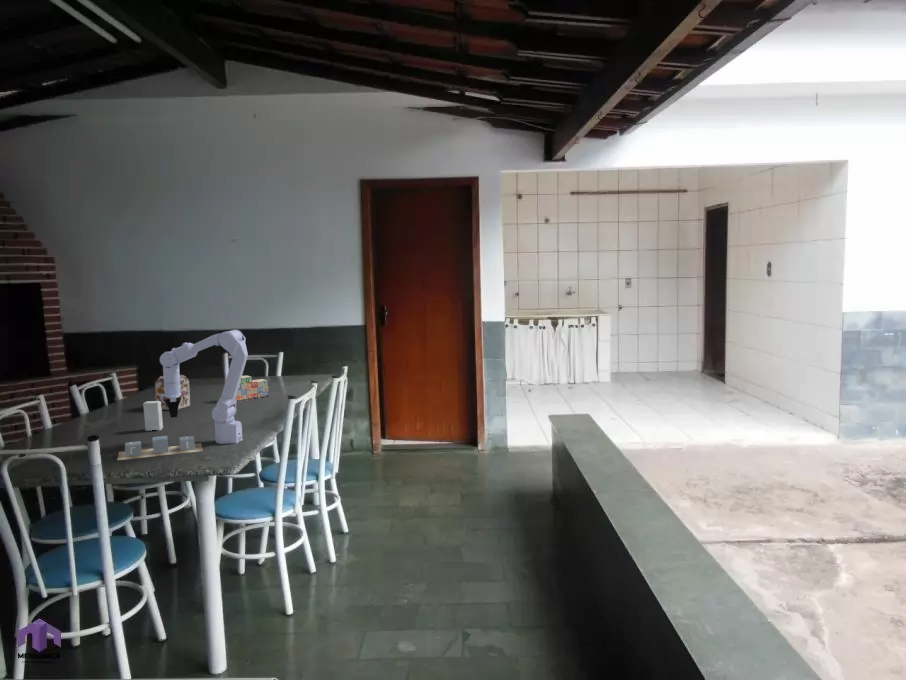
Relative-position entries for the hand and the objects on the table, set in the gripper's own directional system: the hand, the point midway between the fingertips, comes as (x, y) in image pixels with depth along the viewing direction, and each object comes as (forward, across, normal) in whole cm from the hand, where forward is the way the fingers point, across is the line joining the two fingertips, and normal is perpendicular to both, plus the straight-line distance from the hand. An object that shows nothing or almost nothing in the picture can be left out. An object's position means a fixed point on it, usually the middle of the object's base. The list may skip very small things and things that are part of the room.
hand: (173, 417), depth 253 cm
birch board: (+10, +14, -5) cm, 18 cm away
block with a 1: (+9, +14, +4) cm, 17 cm away
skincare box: (+11, -29, -8) cm, 32 cm away
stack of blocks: (+11, -83, +36) cm, 92 cm away
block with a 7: (+9, +14, -14) cm, 22 cm away
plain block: (+9, +14, -5) cm, 18 cm away
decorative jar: (+11, -76, +1) cm, 77 cm away
